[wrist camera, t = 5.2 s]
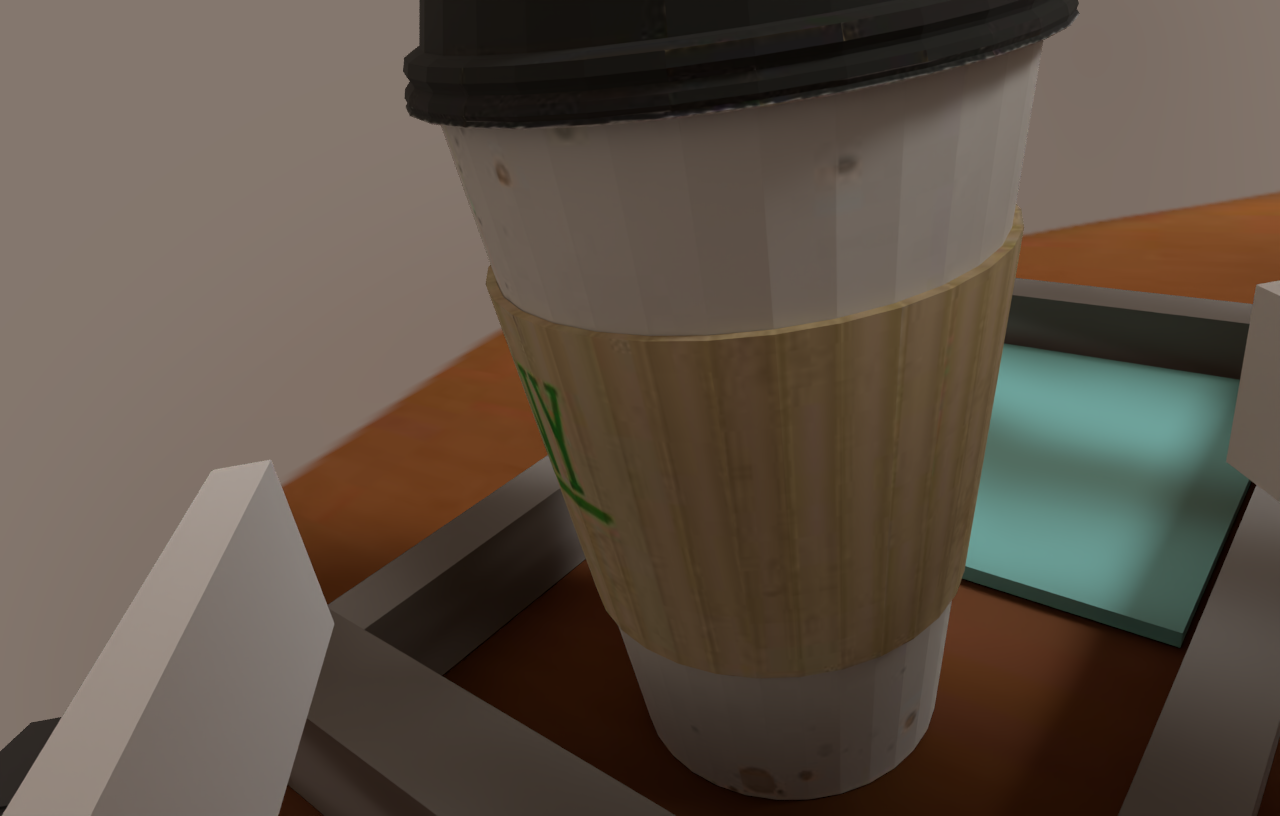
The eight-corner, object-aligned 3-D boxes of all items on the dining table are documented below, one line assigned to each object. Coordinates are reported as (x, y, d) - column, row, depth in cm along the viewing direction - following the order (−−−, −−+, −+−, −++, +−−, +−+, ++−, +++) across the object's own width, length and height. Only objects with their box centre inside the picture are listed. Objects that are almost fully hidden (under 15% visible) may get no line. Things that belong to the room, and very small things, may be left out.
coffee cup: (754, 503, 26) (691, -89, 19) (1114, 646, 20) (1212, -175, 13) (475, 712, 21) (248, -15, 14) (848, 1014, 14) (767, -102, 7)
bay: (854, 306, 38) (851, 223, 36) (1380, 382, 27) (1408, 269, 26) (261, 761, 20) (203, 640, 19) (1075, 1454, 10) (1103, 1313, 8)
